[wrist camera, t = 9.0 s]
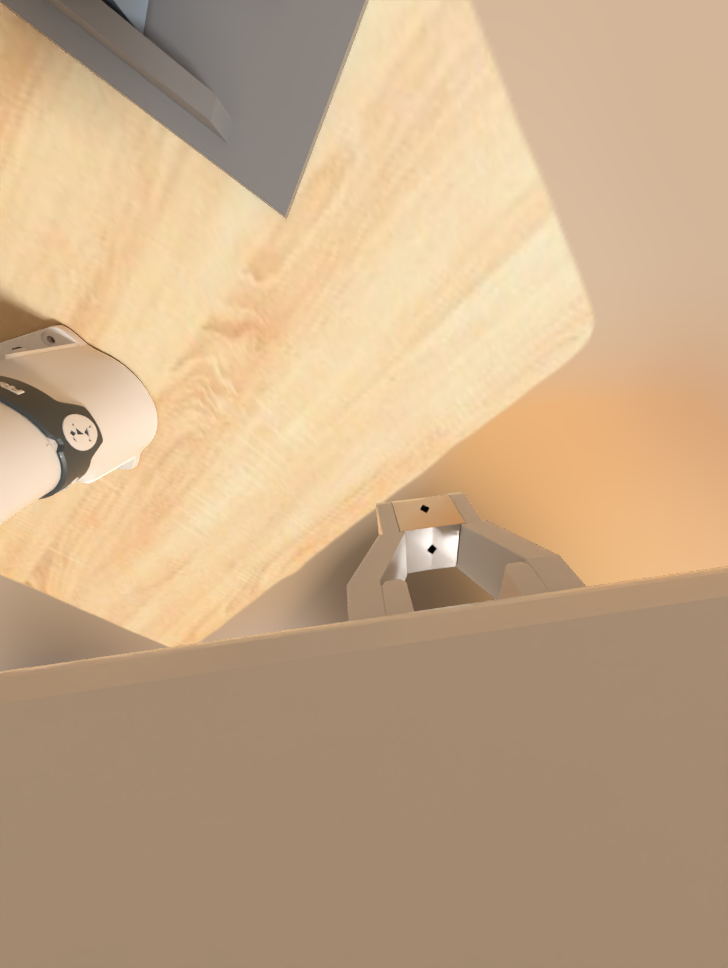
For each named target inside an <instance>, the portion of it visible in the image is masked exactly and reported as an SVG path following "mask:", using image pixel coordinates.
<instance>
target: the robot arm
mask: <svg viewBox="0 0 728 968" xmlns="http://www.w3.org/2000/svg"><path fill="white" fill-rule="evenodd" d="M52 337H53V338H54V340H55V342H54V341H53V340H52ZM156 430H157V413H156V409H155V406H154V403H153V401H152V398H151V396H150V395H149V393H148V391H147V390H146V388H145V387H144V385H143V384H142V383H141V381H140V380H139V379H138V378H137V377H136V376H135V375H134V374H133V373H132V372H131V371H130V370H129V369H128V368H126V367H125V366H124V365H123V364H121V363H120V362H118V361H117V360H115V359H114V358H112V357H110V356H108V355H106V354H104V353H102V352H100V351H98V350H96V349H94V348H92V347H91V346H89V345H88V344H87V343H86V342H85V341H83V340H82V339H81V338H80V337H79V336H78V335H77V334H75V333H74V332H73V331H72V330H70V329H69V328H67V327H65V326H63V325H54V326H50V327H47V328H44V329H41V330H38V331H35V332H32V333H29V334H25V335H22V336H19V337H16V338H13V339H10V340H7V341H4V342H1V343H0V525H1V524H3V523H4V522H5V521H7V520H8V519H10V518H11V517H13V516H14V515H15V514H17V513H18V512H20V511H21V510H23V509H24V508H26V507H27V506H28V505H30V504H32V503H33V502H35V501H36V500H38V499H43V498H46V497H49V496H52V495H54V494H55V493H58V492H60V491H63V490H64V489H66V488H68V487H69V486H71V485H72V484H74V483H75V482H85V483H91V482H93V481H95V480H97V479H99V478H101V477H102V476H104V475H106V474H108V473H109V472H111V471H113V470H114V469H125V470H129V469H132V468H134V467H135V466H137V464H138V462H139V459H140V455H141V452H142V450H143V449H144V448H145V447H146V446H147V445H148V444H149V443H150V442H151V441H152V440H153V438H154V436H155V434H156ZM376 509H377V520H378V529H379V536H378V537H377V539H376V540H375V542H374V543H373V545H372V547H371V548H370V550H369V551H368V553H367V555H366V556H365V558H364V559H363V561H362V562H361V564H360V566H359V567H358V568H357V570H356V572H355V573H354V575H353V577H352V578H351V580H350V581H349V583H348V584H347V603H348V621H347V622H340V623H334V624H326V625H319V626H312V627H306V628H299V629H292V630H285V631H278V632H271V633H264V634H258V635H251V636H244V637H237V638H230V639H223V640H216V641H210V642H203V643H196V644H189V645H182V646H175V647H168V648H161V649H155V650H147V651H141V652H134V653H127V654H120V655H113V656H106V657H100V658H93V659H86V660H79V661H72V662H65V663H59V664H52V665H44V666H37V667H29V668H22V669H13V670H6V671H2V672H0V968H728V566H725V567H718V568H712V569H705V570H698V571H691V572H685V573H677V574H670V575H663V576H656V577H650V578H643V579H636V580H630V581H622V582H616V583H608V584H602V585H595V586H588V587H586V586H585V584H584V583H583V582H582V581H581V580H580V579H579V577H578V576H577V575H576V574H575V573H574V572H573V571H572V569H571V568H570V567H569V566H568V565H567V564H566V562H564V560H563V559H562V558H561V557H560V556H559V555H557V554H555V553H553V552H551V551H549V550H547V549H545V548H543V547H541V546H539V545H537V544H535V543H533V542H531V541H529V540H526V539H524V538H522V537H520V536H518V535H516V534H514V533H512V532H510V531H508V530H506V529H504V528H502V527H500V526H498V525H495V524H494V523H491V522H489V521H487V520H486V521H482V519H481V518H480V516H479V515H478V513H477V512H476V510H475V509H474V507H473V506H472V504H471V503H470V501H469V500H468V499H467V497H466V495H465V494H464V493H463V492H457V493H451V494H447V495H441V496H434V497H427V498H418V499H410V500H401V501H392V502H384V503H377V504H376ZM454 566H457V568H458V569H460V570H461V571H462V572H463V573H465V574H466V575H467V576H468V577H469V578H471V579H472V580H473V581H474V582H476V583H477V584H478V585H480V587H482V588H483V589H484V590H485V591H487V592H488V593H489V594H490V595H492V596H493V597H494V598H495V599H496V600H491V601H485V602H478V603H471V604H464V605H457V606H450V607H443V608H436V609H429V610H423V611H416V612H414V610H413V606H412V603H411V599H410V595H409V591H408V587H407V584H406V582H405V578H406V576H407V573H411V572H417V571H423V570H429V569H437V568H445V567H454Z"/></svg>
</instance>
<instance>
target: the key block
mask: <svg viewBox="0 0 728 968" xmlns="http://www.w3.org/2000/svg"><path fill="white" fill-rule="evenodd" d="M102 1H103V2H104V3H105V4H107V5H108V6H109V7H110V8H111V9H113V10H114V11H115V12H116V13H118V14H119V15H120V16H121V17H122V18H124V19H125V20H126V21H127V22H128V23H130V24H131V25H132V26H133V27H134V28H136V29H137V30H138V31H139V32H140V33H142V34H143V32H144V26H145V19H146V13H147V7H148V0H102Z"/></svg>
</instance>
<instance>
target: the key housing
mask: <svg viewBox="0 0 728 968" xmlns="http://www.w3.org/2000/svg"><path fill="white" fill-rule="evenodd" d="M368 1H369V0H148V7H147V13H146V19H145V26H144V32H143V34H142V33H140V32H139V31H138V30H137V29H136V28H134V27H133V26H132V25H131V24H130V23H128V22H127V21H126V20H125V19H124V18H122V17H121V16H120V15H119V14H118V13H116V12H115V11H114V10H113V9H111V8H110V7H109V6H108V5H107V4H105V3H104V2H103V1H102V0H0V2H1V3H2V4H4V5H5V6H6V7H7V8H8V9H10V10H11V11H12V12H14V13H15V14H16V15H18V16H19V17H20V18H22V19H23V20H24V21H26V22H27V23H28V24H30V25H31V26H32V27H34V28H35V29H36V30H38V31H39V32H40V33H41V34H43V35H44V36H45V37H47V38H48V39H49V40H51V41H52V42H53V43H55V44H56V45H57V46H59V47H60V48H61V49H63V50H64V51H65V52H67V53H68V54H69V55H71V56H72V57H73V58H75V59H76V60H77V61H79V62H80V63H81V64H82V65H84V66H85V67H86V68H88V69H89V70H90V71H92V72H93V73H94V74H96V75H97V76H98V77H100V78H101V79H102V80H104V81H105V82H106V83H108V84H109V85H110V86H112V87H113V88H114V89H116V90H117V91H118V92H120V93H121V94H122V95H123V96H125V97H126V98H127V99H129V100H130V101H131V102H133V103H134V104H135V105H137V106H138V107H139V108H141V109H142V110H143V111H145V112H146V113H147V114H149V115H150V116H151V117H153V118H154V119H155V120H157V121H158V122H159V123H161V124H162V125H163V126H164V127H166V128H167V129H168V130H170V131H171V132H172V133H174V134H175V135H176V136H178V137H179V138H180V139H182V140H183V141H184V142H186V143H187V144H188V145H190V146H191V147H192V148H194V149H195V150H196V151H198V152H199V153H200V154H202V155H203V156H204V157H205V158H207V159H208V160H209V161H211V162H212V163H213V164H215V165H216V166H217V167H219V168H220V169H221V170H223V171H224V172H225V173H227V174H228V175H229V176H231V177H232V178H233V179H235V180H236V181H237V182H239V183H240V184H241V185H243V186H244V187H245V188H247V189H248V190H249V191H250V192H252V193H253V194H254V195H256V196H257V197H258V198H260V199H261V200H262V201H264V202H265V203H266V204H268V205H269V206H270V207H272V208H273V209H274V210H276V211H277V212H278V213H280V214H281V215H282V216H284V217H285V218H286V219H287V217H288V214H289V211H290V209H291V206H292V203H293V201H294V198H295V195H296V193H297V190H298V187H299V185H300V182H301V179H302V177H303V174H304V171H305V169H306V166H307V163H308V161H309V158H310V155H311V153H312V150H313V147H314V145H315V142H316V139H317V137H318V134H319V131H320V129H321V126H322V124H323V121H324V118H325V116H326V113H327V110H328V108H329V105H330V102H331V100H332V97H333V94H334V92H335V89H336V86H337V84H338V81H339V78H340V76H341V73H342V70H343V68H344V65H345V62H346V60H347V57H348V54H349V52H350V49H351V46H352V44H353V41H354V38H355V36H356V33H357V30H358V28H359V25H360V22H361V20H362V17H363V14H364V12H365V9H366V6H367V4H368Z"/></svg>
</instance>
